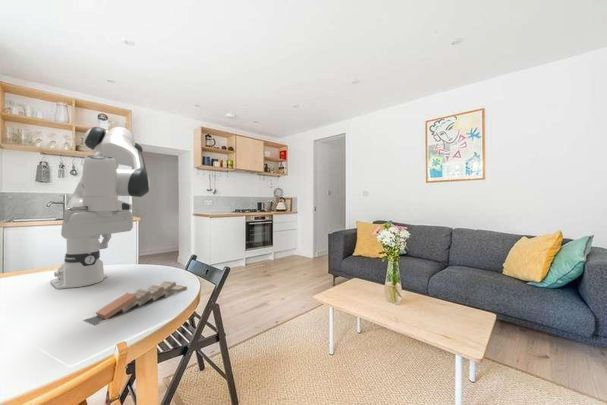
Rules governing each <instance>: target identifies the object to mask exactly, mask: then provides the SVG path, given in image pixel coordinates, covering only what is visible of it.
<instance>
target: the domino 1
mask: <svg viewBox="0 0 607 405" xmlns="http://www.w3.org/2000/svg"><path fill="white" fill-rule="evenodd" d="M147 289H148V288H140V289H138V290H136V291H134V292H133V293H132V294H133V295H136V298H137V299H136V300H135V301H133V302H132V303H130V304H129V305H127V306H126V307H124V308H123V309H121V310H120V312H122V313H124V312H126V311H127V310H129V309H130V308H132V307H133V306H134V305H136V304H137V303H139V302H140V301H142V300H143V299H145V298H146V297H148V296H149V295H151V292H150V290H147Z"/></svg>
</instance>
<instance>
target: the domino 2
mask: <svg viewBox="0 0 607 405" xmlns="http://www.w3.org/2000/svg"><path fill="white" fill-rule="evenodd" d="M146 289H147V290H150V292H151V295H149V296H148V297H146V298H145V299H143V300H142V301H140V302H139V303H137V304H136V305H135V306H138V307H140V306H141V305H143V304H144V303H146V302H147V301H148V300H150V299H151V298H153V297H154V296H155V295H157V294H158V293H160V292H161V291H162V290H164V287H163V286H162V285H160V284H157V283H153V284H151V286H149V287H148V288H146Z"/></svg>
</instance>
